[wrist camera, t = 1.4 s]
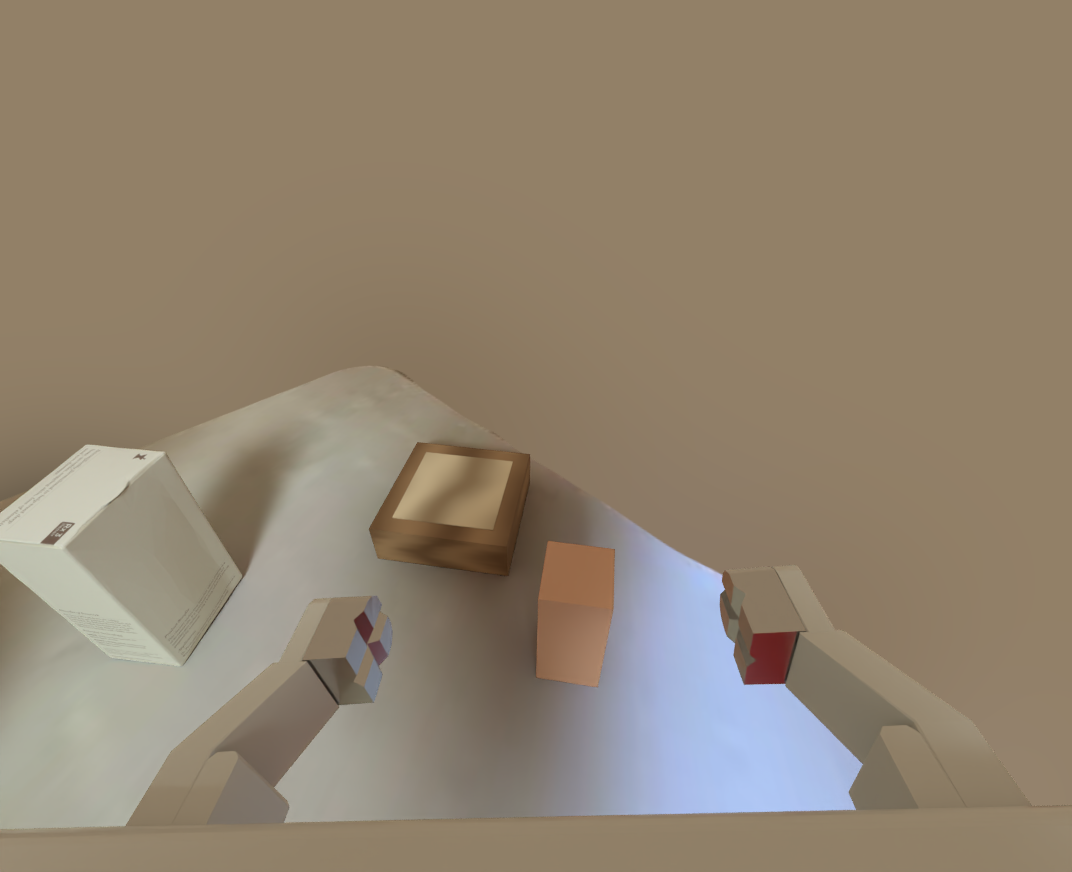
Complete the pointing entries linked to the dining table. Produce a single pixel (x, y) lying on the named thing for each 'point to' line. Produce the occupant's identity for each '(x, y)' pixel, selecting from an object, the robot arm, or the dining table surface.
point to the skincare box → (120, 553)
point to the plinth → (454, 509)
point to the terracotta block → (574, 612)
